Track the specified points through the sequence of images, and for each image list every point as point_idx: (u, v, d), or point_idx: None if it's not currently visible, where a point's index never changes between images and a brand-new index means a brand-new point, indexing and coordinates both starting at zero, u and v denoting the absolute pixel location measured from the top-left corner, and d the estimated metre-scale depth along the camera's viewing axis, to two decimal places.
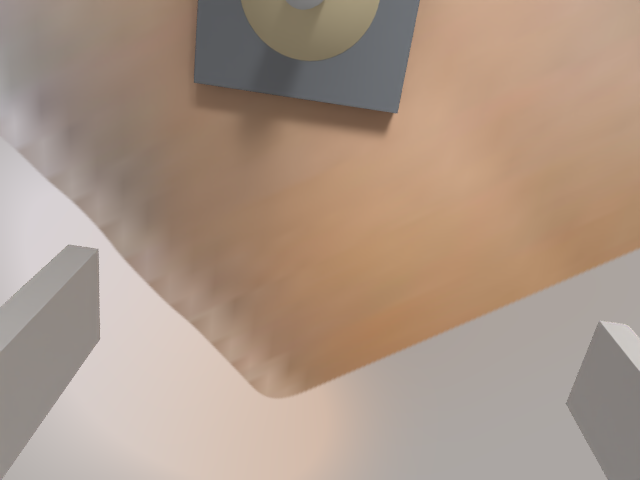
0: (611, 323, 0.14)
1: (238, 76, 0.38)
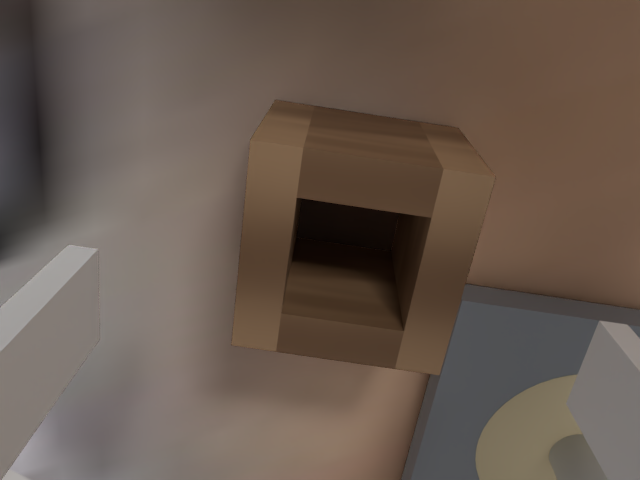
0: (611, 323, 0.14)
1: None
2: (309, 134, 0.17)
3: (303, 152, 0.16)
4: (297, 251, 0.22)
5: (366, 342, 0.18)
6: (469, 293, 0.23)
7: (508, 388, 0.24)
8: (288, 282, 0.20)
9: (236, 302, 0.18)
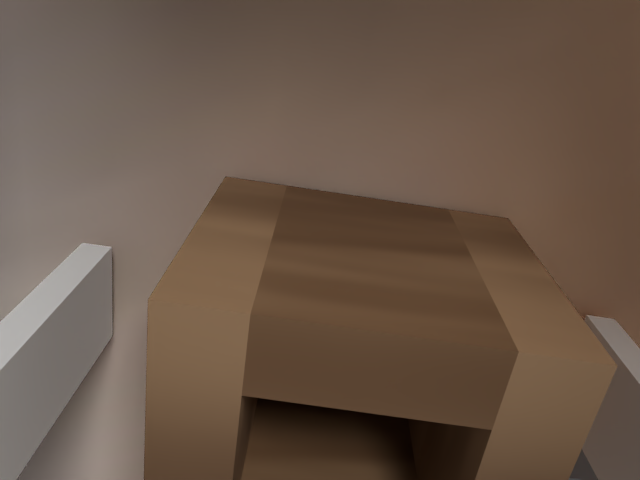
0: (598, 317, 0.15)
1: None
2: (268, 265, 0.10)
3: (251, 320, 0.08)
4: (263, 401, 0.15)
5: None
6: None
7: None
8: (242, 479, 0.12)
9: None
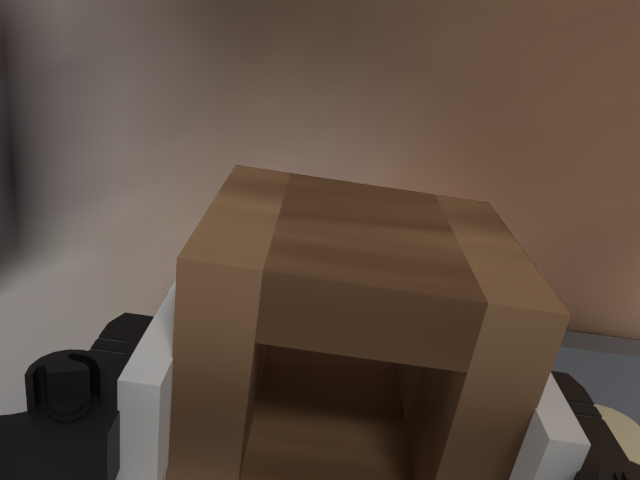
0: None
1: None
2: (276, 235, 0.11)
3: (263, 276, 0.10)
4: (268, 369, 0.16)
5: None
6: None
7: None
8: (251, 431, 0.14)
9: None
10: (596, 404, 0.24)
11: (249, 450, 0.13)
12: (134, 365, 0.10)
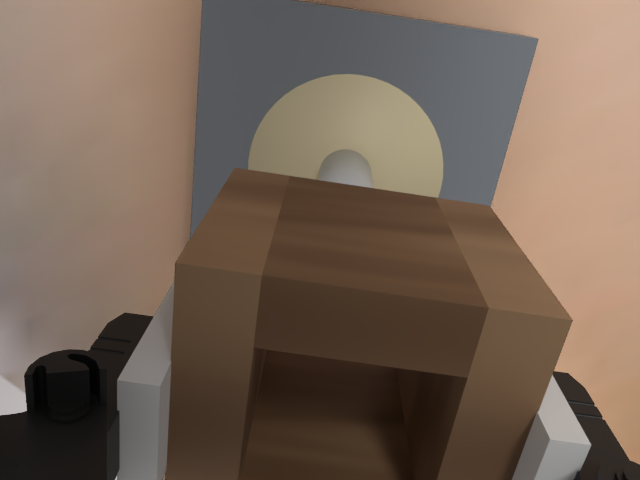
0: None
1: None
2: (275, 239, 0.11)
3: (262, 281, 0.10)
4: (267, 372, 0.16)
5: None
6: None
7: (266, 95, 0.25)
8: (250, 436, 0.14)
9: None
10: (371, 78, 0.24)
11: (248, 454, 0.13)
12: (134, 365, 0.10)
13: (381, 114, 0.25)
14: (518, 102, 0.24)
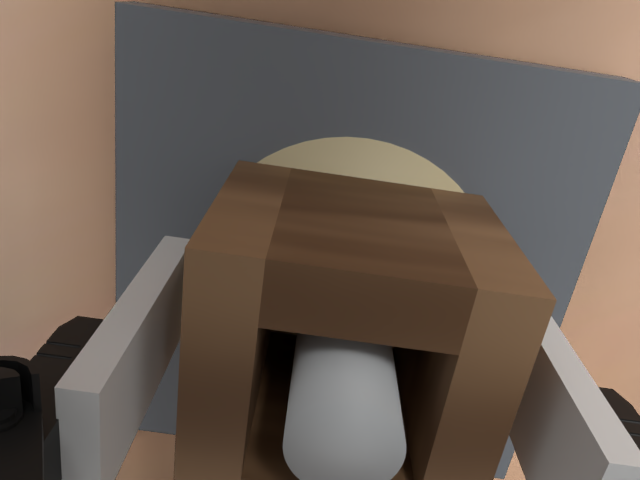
0: None
1: None
2: (278, 226, 0.12)
3: (266, 264, 0.11)
4: (271, 356, 0.17)
5: None
6: (139, 4, 0.15)
7: (221, 167, 0.16)
8: (255, 415, 0.15)
9: (176, 464, 0.13)
10: (384, 143, 0.16)
11: (253, 432, 0.14)
12: (74, 371, 0.10)
13: None
14: (611, 180, 0.16)
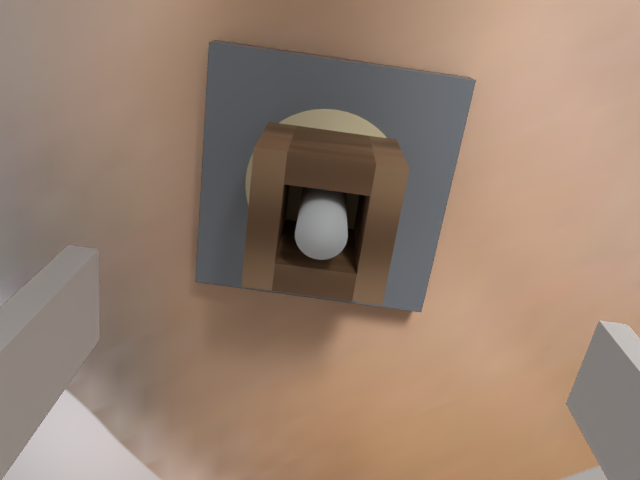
0: (611, 323, 0.14)
1: None
2: (291, 144, 0.27)
3: (287, 155, 0.25)
4: (286, 228, 0.31)
5: (332, 282, 0.27)
6: (219, 42, 0.30)
7: (260, 125, 0.31)
8: (279, 246, 0.29)
9: (245, 256, 0.27)
10: (344, 112, 0.30)
11: (279, 251, 0.28)
12: None
13: None
14: (462, 130, 0.30)
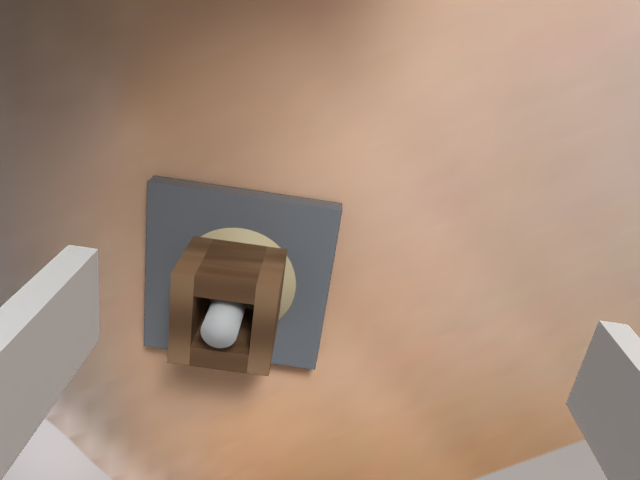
0: (611, 323, 0.14)
1: None
2: (201, 265, 0.38)
3: (194, 277, 0.36)
4: None
5: (231, 360, 0.39)
6: (155, 179, 0.41)
7: (187, 238, 0.42)
8: (197, 330, 0.40)
9: (168, 342, 0.38)
10: (248, 230, 0.41)
11: (196, 335, 0.40)
12: None
13: None
14: (335, 243, 0.41)
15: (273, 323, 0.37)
